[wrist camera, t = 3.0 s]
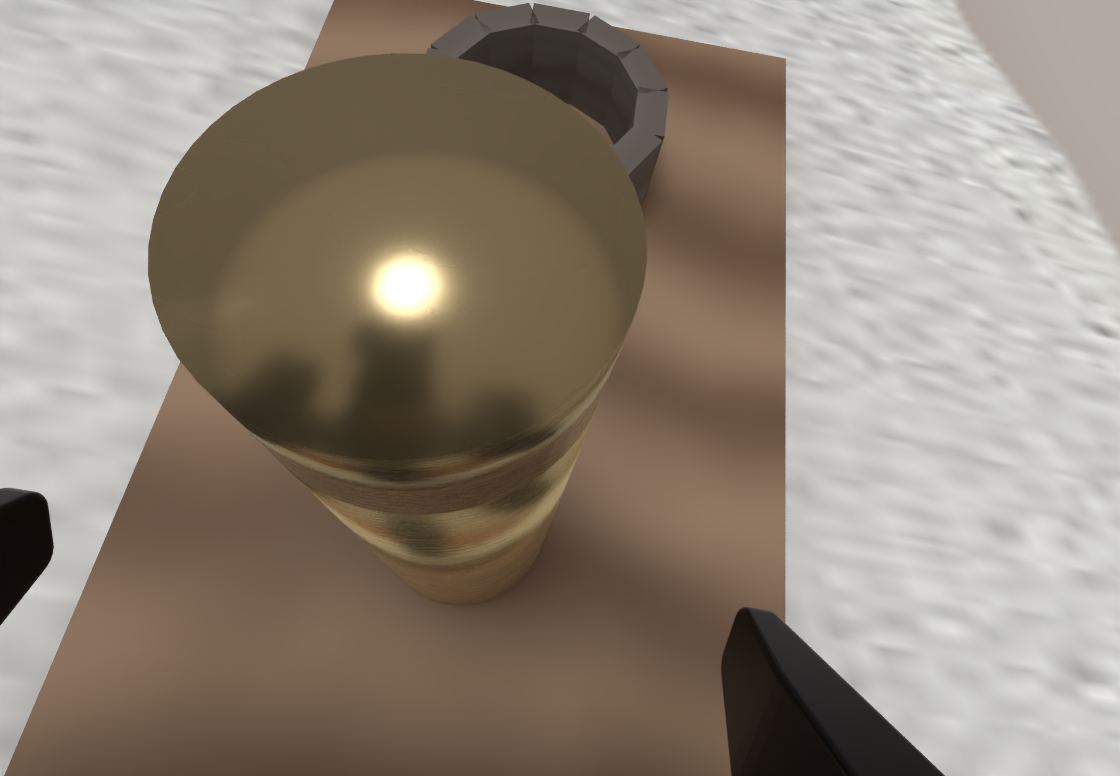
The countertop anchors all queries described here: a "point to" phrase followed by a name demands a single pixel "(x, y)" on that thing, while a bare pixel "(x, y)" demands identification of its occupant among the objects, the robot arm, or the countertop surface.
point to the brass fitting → (407, 299)
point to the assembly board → (573, 536)
